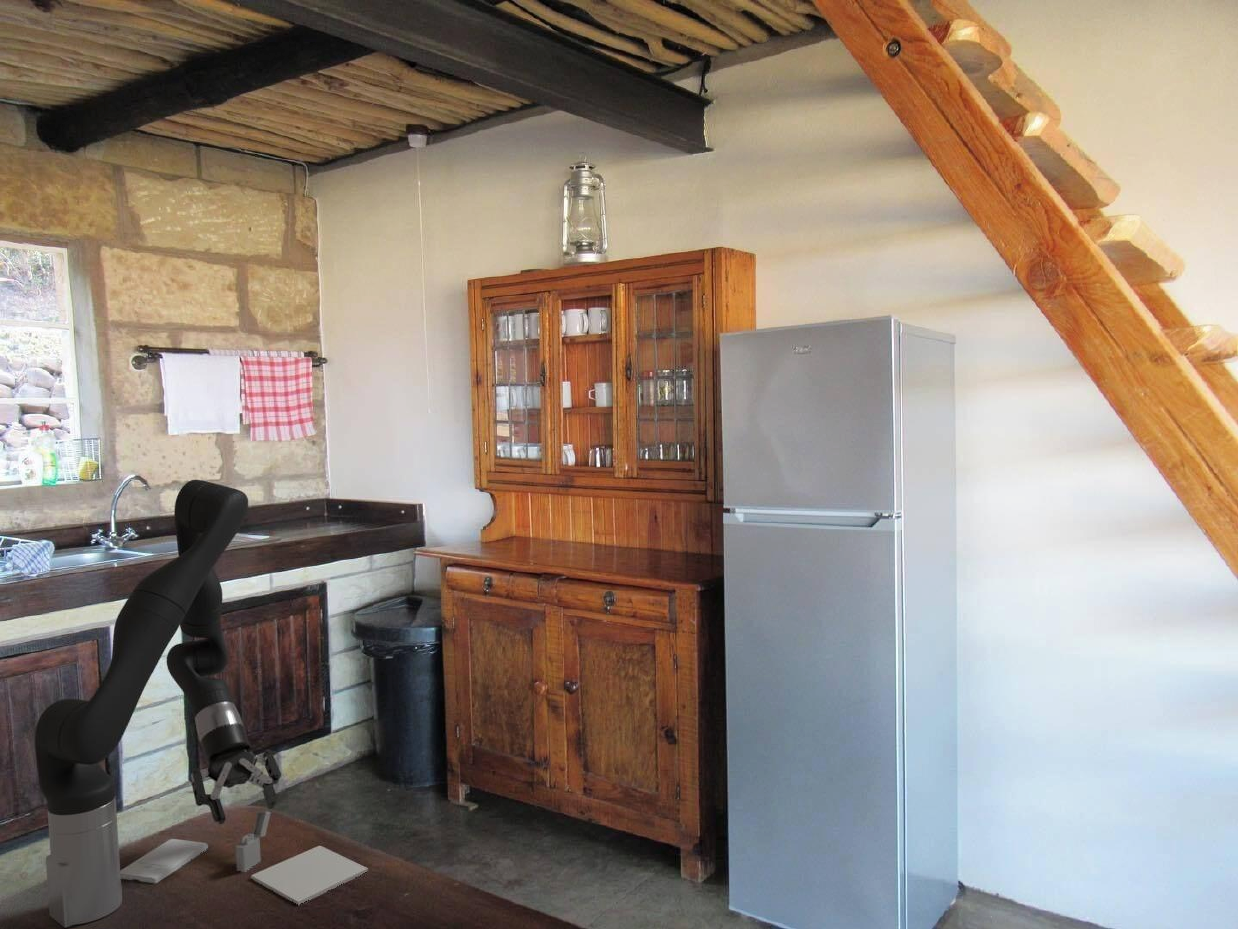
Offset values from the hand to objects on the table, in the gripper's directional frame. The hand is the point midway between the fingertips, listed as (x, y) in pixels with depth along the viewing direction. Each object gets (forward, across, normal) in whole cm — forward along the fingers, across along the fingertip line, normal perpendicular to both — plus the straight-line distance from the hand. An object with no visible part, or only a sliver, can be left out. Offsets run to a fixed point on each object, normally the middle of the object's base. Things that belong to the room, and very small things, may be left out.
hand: (248, 814), depth 162 cm
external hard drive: (0, -12, +12) cm, 17 cm away
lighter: (+7, 0, +4) cm, 8 cm away
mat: (+15, +5, -4) cm, 16 cm away
